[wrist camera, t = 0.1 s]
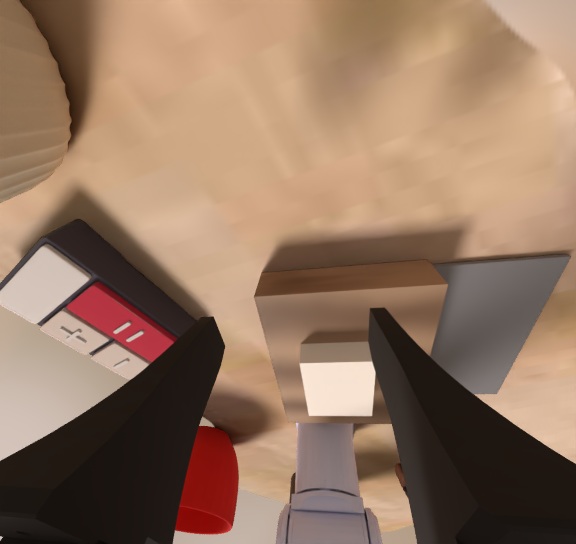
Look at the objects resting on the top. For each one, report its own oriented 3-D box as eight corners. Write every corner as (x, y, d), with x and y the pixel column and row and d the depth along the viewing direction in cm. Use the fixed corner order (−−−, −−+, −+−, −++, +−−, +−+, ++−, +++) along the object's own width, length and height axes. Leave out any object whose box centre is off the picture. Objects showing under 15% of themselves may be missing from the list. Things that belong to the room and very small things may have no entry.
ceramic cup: (165, 450, 44) (132, 528, 36) (175, 406, 36) (133, 495, 27) (233, 467, 46) (216, 544, 38) (258, 428, 37) (243, 518, 29)
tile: (367, 395, 24) (372, 416, 23) (308, 396, 25) (308, 415, 24) (370, 341, 20) (376, 361, 19) (300, 343, 21) (299, 363, 19)
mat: (494, 390, 28) (496, 394, 28) (405, 391, 29) (406, 394, 29) (566, 253, 18) (571, 256, 18) (430, 264, 20) (432, 267, 20)
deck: (402, 393, 30) (412, 424, 27) (290, 394, 32) (288, 422, 29) (427, 259, 20) (448, 284, 17) (261, 272, 22) (254, 296, 19)
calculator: (128, 385, 27) (-23, 302, 21) (148, 353, 31) (25, 273, 24) (193, 354, 23) (33, 239, 17) (207, 321, 27) (80, 216, 20)
